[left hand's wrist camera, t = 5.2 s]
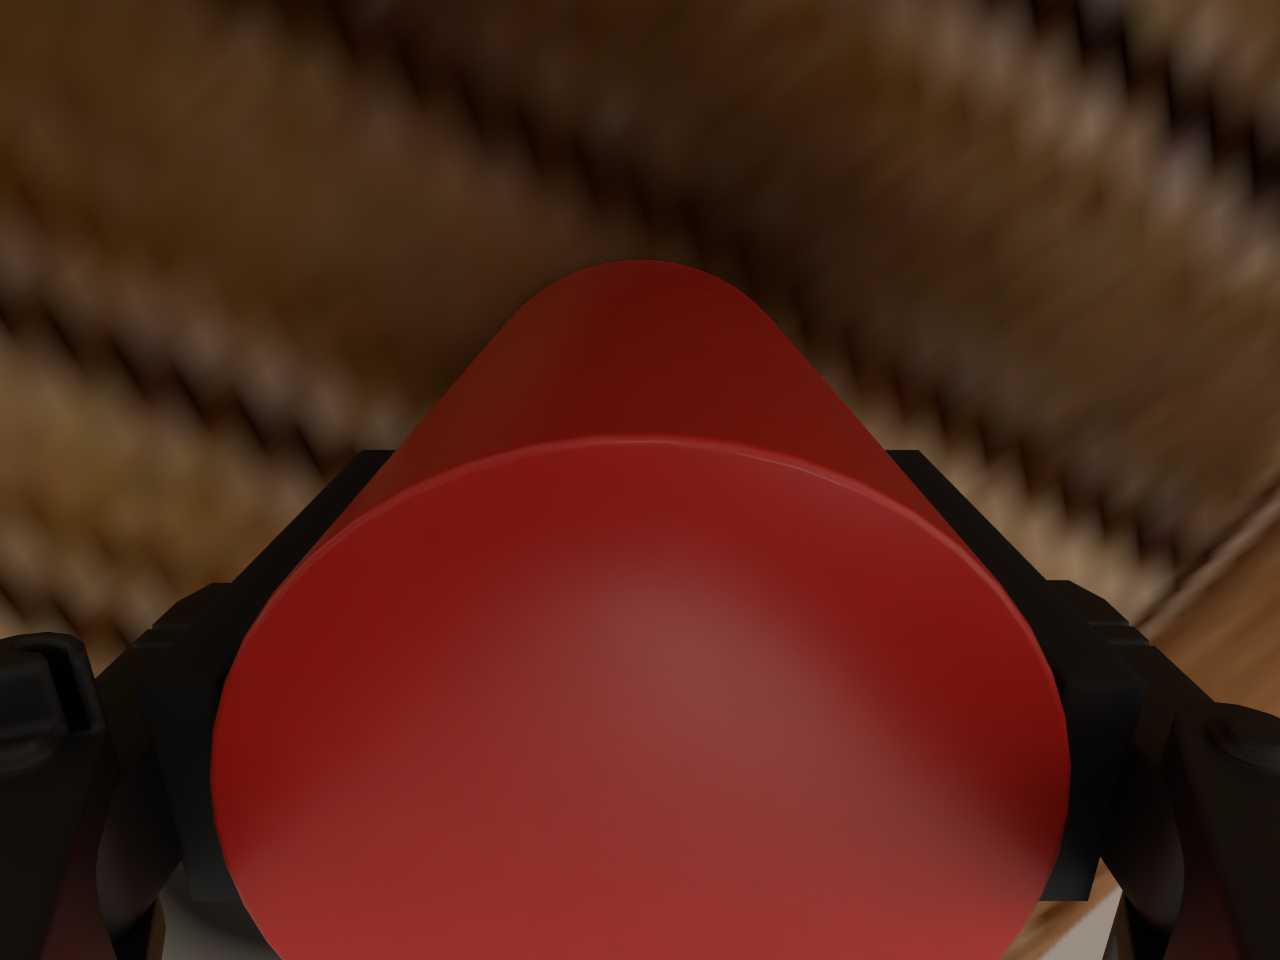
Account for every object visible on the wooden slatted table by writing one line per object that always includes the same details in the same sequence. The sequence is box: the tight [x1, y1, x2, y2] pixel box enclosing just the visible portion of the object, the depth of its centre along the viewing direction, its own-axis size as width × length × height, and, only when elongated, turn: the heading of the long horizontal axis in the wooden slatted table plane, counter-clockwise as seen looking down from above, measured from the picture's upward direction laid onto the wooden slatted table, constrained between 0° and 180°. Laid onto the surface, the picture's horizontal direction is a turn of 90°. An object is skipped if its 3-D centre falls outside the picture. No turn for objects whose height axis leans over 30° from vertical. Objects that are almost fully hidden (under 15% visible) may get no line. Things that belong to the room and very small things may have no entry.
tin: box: [210, 259, 1071, 960], centre depth 13 cm, size 8×8×12 cm
